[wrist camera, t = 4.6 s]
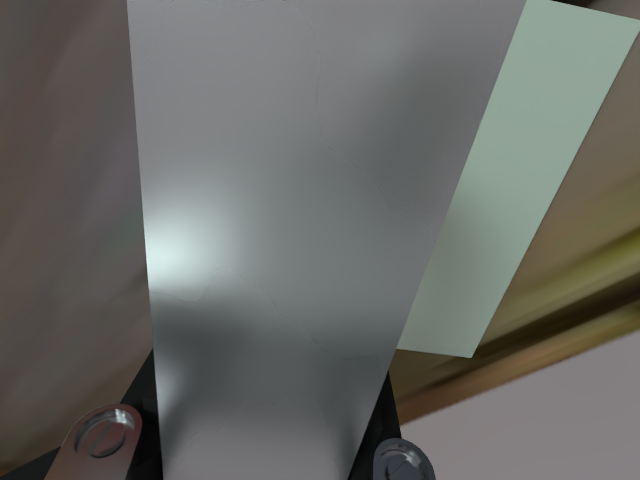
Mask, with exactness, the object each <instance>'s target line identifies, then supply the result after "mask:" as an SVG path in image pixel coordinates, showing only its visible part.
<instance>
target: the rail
mask: <svg viewBox="0 0 640 480" xmlns="http://www.w3.org/2000/svg"><path fill="white" fill-rule="evenodd" d="M526 1H527V0H127V9H128V22H129V35H130V48H131V61H132V74H133V87H134V100H135V113H136V126H137V139H138V152H139V166H140V179H141V192H142V205H143V218H144V231H145V244H146V257H147V270H148V283H149V296H150V310H151V323H152V336H153V349H154V362H155V375H156V388H157V401H158V414H159V427H160V440H161V453H162V467H163V480H347V479H348V476H349V473H350V471H351V468H352V465H353V463H354V460H355V457H356V455H357V452H358V449H359V447H360V444H361V441H362V439H363V436H364V433H365V431H366V428H367V425H368V423H369V420H370V417H371V415H372V412H373V409H374V407H375V404H376V401H377V399H378V396H379V393H380V391H381V388H382V385H383V383H384V380H385V377H386V375H387V372H388V369H389V367H390V364H391V361H392V359H393V356H394V353H395V351H396V348H397V345H398V343H399V340H400V337H401V335H402V332H403V329H404V327H405V324H406V321H407V319H408V316H409V313H410V310H411V308H412V305H413V302H414V300H415V297H416V294H417V292H418V289H419V286H420V284H421V281H422V278H423V276H424V273H425V270H426V268H427V265H428V262H429V260H430V257H431V254H432V252H433V249H434V246H435V244H436V241H437V238H438V236H439V233H440V230H441V228H442V225H443V222H444V220H445V217H446V214H447V212H448V209H449V206H450V204H451V201H452V198H453V196H454V193H455V190H456V188H457V185H458V182H459V180H460V177H461V174H462V172H463V169H464V166H465V164H466V161H467V158H468V156H469V153H470V150H471V148H472V145H473V142H474V140H475V137H476V134H477V132H478V129H479V126H480V124H481V121H482V118H483V116H484V113H485V110H486V108H487V105H488V102H489V100H490V97H491V94H492V92H493V89H494V86H495V83H496V81H497V78H498V75H499V73H500V70H501V67H502V65H503V62H504V59H505V57H506V54H507V51H508V49H509V46H510V43H511V41H512V38H513V35H514V33H515V30H516V27H517V25H518V22H519V19H520V17H521V14H522V11H523V9H524V6H525V3H526Z"/></svg>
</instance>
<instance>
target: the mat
mask: <svg viewBox="0 0 640 480" xmlns="http://www.w3.org/2000/svg"><path fill="white" fill-rule="evenodd" d="M639 30H640V20H636V19H632V18H627V17H623V16H618V15H614V14H609V13H605V12H600V11H596V10H591V9H586V8H582V7H577V6H573V5H568V4H564V3H559V2H555V1H550V0H527V1H526V3H525V6H524V9H523V11H522V14H521V17H520V19H519V22H518V25H517V27H516V30H515V33H514V35H513V38H512V41H511V43H510V46H509V49H508V51H507V54H506V57H505V59H504V62H503V65H502V67H501V70H500V73H499V75H498V78H497V81H496V83H495V86H494V89H493V92H492V94H491V97H490V100H489V102H488V105H487V108H486V110H485V113H484V116H483V118H482V121H481V124H480V126H479V129H478V132H477V134H476V137H475V140H474V142H473V145H472V148H471V150H470V153H469V156H468V158H467V161H466V164H465V166H464V169H463V172H462V174H461V177H460V180H459V182H458V185H457V188H456V190H455V193H454V196H453V198H452V201H451V204H450V206H449V209H448V212H447V214H446V217H445V220H444V222H443V225H442V228H441V230H440V233H439V236H438V238H437V241H436V244H435V246H434V249H433V252H432V254H431V257H430V260H429V262H428V265H427V268H426V270H425V273H424V276H423V278H422V281H421V284H420V286H419V289H418V292H417V294H416V297H415V300H414V302H413V305H412V308H411V310H410V313H409V316H408V319H407V321H406V324H405V327H404V329H403V332H402V335H401V337H400V340H399V343H398V345H397V348H396V349H403V350H411V351H419V352H427V353H435V354H443V355H451V356H459V357H467V358H472V356H473V354H474V352H475V350H476V348H477V346H478V344H479V342H480V340H481V338H482V336H483V334H484V332H485V330H486V328H487V327H488V325H489V323H490V321H491V319H492V317H493V315H494V313H495V311H496V309H497V307H498V305H499V303H500V301H501V299H502V297H503V295H504V293H505V291H506V289H507V288H508V286H509V284H510V282H511V280H512V278H513V276H514V274H515V272H516V270H517V268H518V266H519V264H520V262H521V260H522V258H523V256H524V254H525V252H526V250H527V249H528V247H529V245H530V243H531V241H532V239H533V237H534V235H535V233H536V231H537V229H538V227H539V225H540V223H541V221H542V219H543V217H544V215H545V213H546V211H547V210H548V208H549V206H550V204H551V202H552V200H553V198H554V196H555V194H556V192H557V190H558V188H559V186H560V184H561V182H562V180H563V178H564V176H565V174H566V172H567V171H568V169H569V167H570V165H571V163H572V161H573V159H574V157H575V155H576V153H577V151H578V149H579V147H580V145H581V143H582V141H583V139H584V137H585V135H586V133H587V132H588V130H589V128H590V126H591V124H592V122H593V120H594V118H595V116H596V114H597V112H598V110H599V108H600V106H601V104H602V102H603V100H604V98H605V96H606V95H607V93H608V91H609V89H610V87H611V85H612V83H613V81H614V79H615V77H616V75H617V73H618V71H619V69H620V67H621V65H622V63H623V61H624V59H625V57H626V56H627V54H628V52H629V50H630V48H631V46H632V44H633V42H634V40H635V38H636V36H637V34H638V32H639Z"/></svg>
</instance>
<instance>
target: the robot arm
mask: <svg viewBox="0 0 640 480" xmlns="http://www.w3.org/2000/svg"><path fill="white" fill-rule="evenodd" d="M0 480H163V467H162V453H161V440H160V427H159V414H158V401H157V388H156V375H155V362H154V349H152V351H151V352H150V354H149V356H148V357H147V359H146V361H145V362H144V364H143V366H142V367H141V369H140V371H139V372H138V374H137V375H136V377H135V379H134V380H133V382H132V384H131V385H130V387H129V389H128V390H127V392H126V394H125V395H124V397H123V399H122V400H121V402H120V404H119V403H117V404H109V405H105V406H102V407H99V408H96V409H94V410H93V411H91V412H89V413H87V414H86V415H84V416H83V417H82V418H81V419H80V420H79V421H78V422H76V423H75V425H74V426H73V427H72V429H71V430H70V432H69V433H68V435H67V437H66V439H65V441H64V442H63V444H62V446H60V447H58V448H56V449H54V450H52V451H50V452H48V453H46V454H44V455H42V456H40V457H38V458H36V459H35V460H33V461H31V462H29V463H27V464H25V465H23V466H21V467H19V468H17V469H15V470H13V471H11V472H9V473H7V474H5V475H3V476H1V477H0ZM347 480H436V478H435V474H434V470H433V467H432V465H431V463H430V461H429V459H428V458H427V456H426V455H425V454H424V453H423V452H422V451H421V449H420V448H418V447H417V446H416V445H414V444H413V443H411V442H409V441H407V440H404V439H402V437H401V432H400V427H399V422H398V416H397V411H396V406H395V401H394V396H393V391H392V386H391V381H390V376H389V371H388V372H387V375H386V377H385V380H384V383H383V385H382V388H381V391H380V393H379V396H378V399H377V401H376V404H375V407H374V409H373V412H372V415H371V417H370V420H369V423H368V425H367V428H366V431H365V433H364V436H363V439H362V441H361V444H360V447H359V449H358V452H357V455H356V457H355V460H354V463H353V465H352V468H351V471H350V473H349V476H348V479H347Z"/></svg>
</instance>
